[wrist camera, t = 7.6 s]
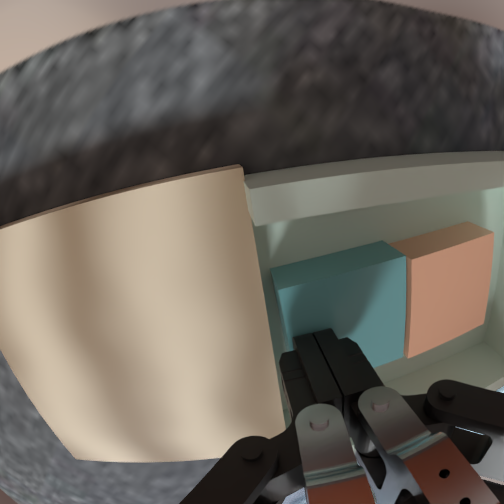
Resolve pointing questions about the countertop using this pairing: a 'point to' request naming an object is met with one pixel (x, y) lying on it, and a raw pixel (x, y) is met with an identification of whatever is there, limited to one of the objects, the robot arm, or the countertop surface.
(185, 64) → the countertop surface
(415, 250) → the terracotta tile
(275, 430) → the maple plate
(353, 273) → the teal square block
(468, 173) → the box
